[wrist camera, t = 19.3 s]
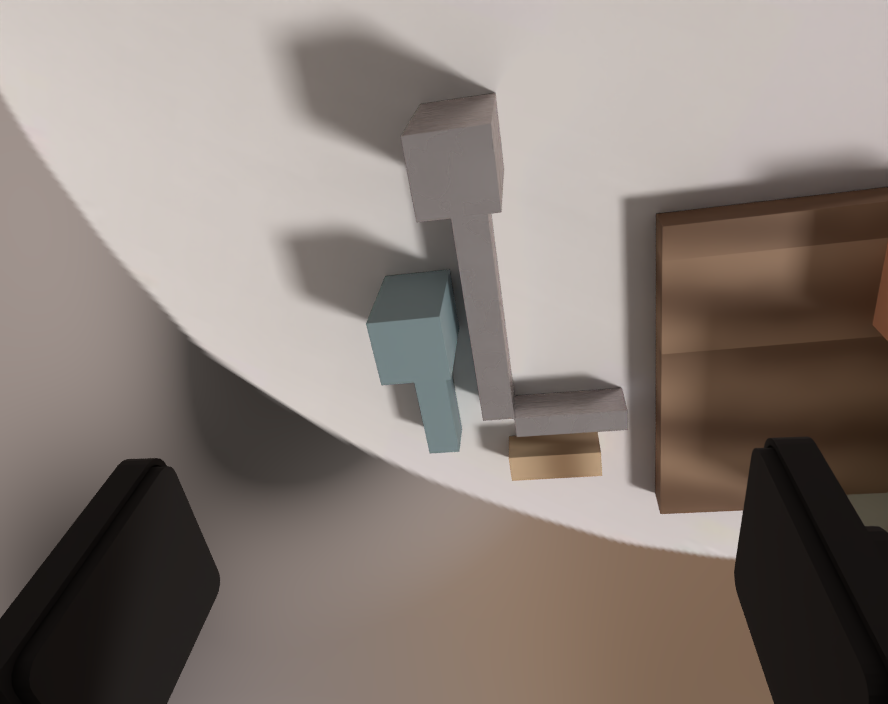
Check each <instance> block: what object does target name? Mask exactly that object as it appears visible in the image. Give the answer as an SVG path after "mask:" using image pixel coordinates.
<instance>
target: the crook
mask: <svg viewBox="0 0 888 704" xmlns="http://www.w3.org/2000/svg"><path fill="white" fill-rule="evenodd" d="M401 142H402V147H403V152H404V158H405V163H406V168H407V174H408V179H409V184H410V190H411V195H412V200H413V206H414V211H415V216H416V222H425V221H433V220H441V219H450V218H451V222H452V229H453V235H454V241H455V247H456V254H457V260H458V266H459V272H460V279H461V285H462V291H463V298H464V304H465V310H466V316H467V323H468V329H469V335H470V341H471V348H472V354H473V360H474V367H475V373H476V379H477V385H478V392H479V398H480V404H481V410H482V417H483V421H486V420H500V419H514V420H515V427H516V435H517V437H525V436H540V435H556V434H571V433H587V432H602V431H618V430H628V411H627V406H626V402H625V398H624V394H623V389H622V388H613V389H599V390H586V391H573V392H559V393H546V394H533V395H519V396H514V388H513V380H512V372H511V364H510V356H509V348H508V340H507V332H506V325H505V317H504V309H503V301H502V293H501V285H500V277H499V269H498V261H497V253H496V246H495V238H494V230H493V222H492V214H491V213H500V212H502V195H503V179H504V163H503V154H502V145H501V136H500V128H499V119H498V110H497V101H496V93H491V94H484V95H477V96H471V97H464V98H457V99H451V100H444V101H437V102H430V103H424V104H420V105H419V107H418V109H417V110H416V112H415V114H414V115H413V117H412V118H411V120H410V122H409V123H408V125H407V127H406V128H405V130H404V131H403V133H402V135H401Z"/></svg>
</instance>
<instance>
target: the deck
mask: <svg viewBox="0 0 888 704" xmlns="http://www.w3.org/2000/svg"><path fill="white" fill-rule="evenodd" d="M887 243H888V187H883V188H874V189H866V190H857V191H849V192H840V193H831V194H823V195H814V196H805V197H797V198H788V199H780V200H771V201H762V202H754V203H745V204H737V205H728V206H719V207H711V208H702V209H693V210H685V211H676V212H668V213H659V214H656V452H655V494H656V498H657V502H658V506H659V510H660V514H672V513H694V512H717V511H740V510H743V508H744V502H745V495H746V488H747V481H748V475H749V468H750V461H751V455H752V451H753V449H754V448H764V444H765V442H766V440H767V439H768V438H778V437H810V438H812V439H813V440H814V442H815V443H816V445H817V446H818V448H819V450H820V451H821V453H822V455H823V456H824V458H825V460H826V461H827V463H828V465H829V467H830V468H831V470H832V472H833V473H834V475H835V477H836V478H837V480H838V482H839V483H840V485H841V487H842V488H843V490H844V492H845V493H846V495H850V494H871V493H888V341H887V340H886V339H885V338H884V337H883V336H882V334H881V333H880V332H879V331H878V330H877V329H876V328H875V327H874V326H873V325H872V324H873V319H874V313H875V308H876V303H877V297H878V292H879V286H880V281H881V276H882V270H883V265H884V260H885V254H886V249H887Z"/></svg>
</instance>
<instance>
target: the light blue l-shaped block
mask: <svg viewBox="0 0 888 704" xmlns="http://www.w3.org/2000/svg"><path fill="white" fill-rule="evenodd" d="M366 325H367V329H368V333H369V337H370V342H371V346H372V350H373V354H374V358H375V362H376V366H377V370H378V374H379V378H380V382H381V385H392V384H405V383H414V384H415V388H416V393H417V397H418V402H419V406H420V411H421V416H422V420H423V425H424V429H425V434H426V438H427V443H428V448H429V452H430V453H445V452H459V450H460V441H461V433H462V425H461V420H460V414H459V409H458V403H457V398H456V392H455V387H454V381H453V376H452V371H453V364H454V358H455V352H456V345H457V339H458V333H459V322H458V316H457V310H456V304H455V298H454V292H453V286H452V281H451V275H450V269H448V270H439V271H430V272H421V273H411V274H402V275H393V276H385V278H384V281H383V283H382V286H381V288H380V291H379V293H378V296H377V298H376V300H375V303H374V305H373V308H372V310H371V313H370V315H369V318H368V320H367V323H366Z"/></svg>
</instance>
